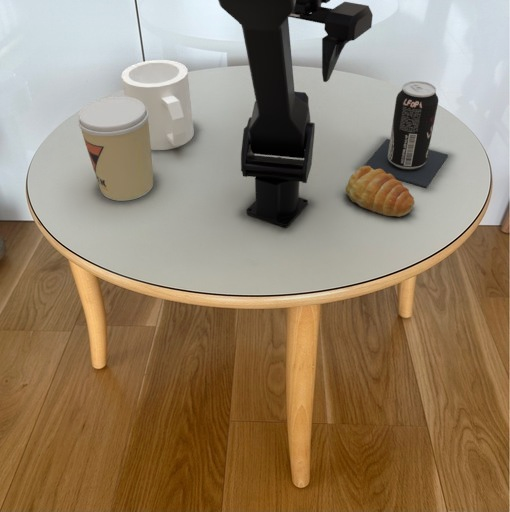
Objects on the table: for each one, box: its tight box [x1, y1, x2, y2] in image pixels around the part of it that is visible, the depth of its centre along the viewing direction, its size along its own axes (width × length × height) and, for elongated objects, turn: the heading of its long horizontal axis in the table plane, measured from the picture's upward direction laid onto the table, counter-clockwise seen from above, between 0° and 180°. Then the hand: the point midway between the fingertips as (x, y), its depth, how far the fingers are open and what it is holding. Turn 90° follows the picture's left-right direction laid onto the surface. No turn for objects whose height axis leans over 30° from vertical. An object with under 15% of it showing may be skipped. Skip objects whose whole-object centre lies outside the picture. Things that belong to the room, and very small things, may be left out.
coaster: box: [363, 138, 449, 189], centre depth 87 cm, size 10×10×1 cm
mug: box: [121, 59, 195, 151], centre depth 91 cm, size 14×10×11 cm
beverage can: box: [388, 80, 439, 169], centre depth 83 cm, size 6×6×12 cm
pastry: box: [344, 165, 415, 217], centre depth 79 cm, size 9×7×4 cm
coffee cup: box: [77, 95, 154, 202], centre depth 80 cm, size 9×9×12 cm
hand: (297, 73), depth 81 cm, fingers open, 9 cm apart
